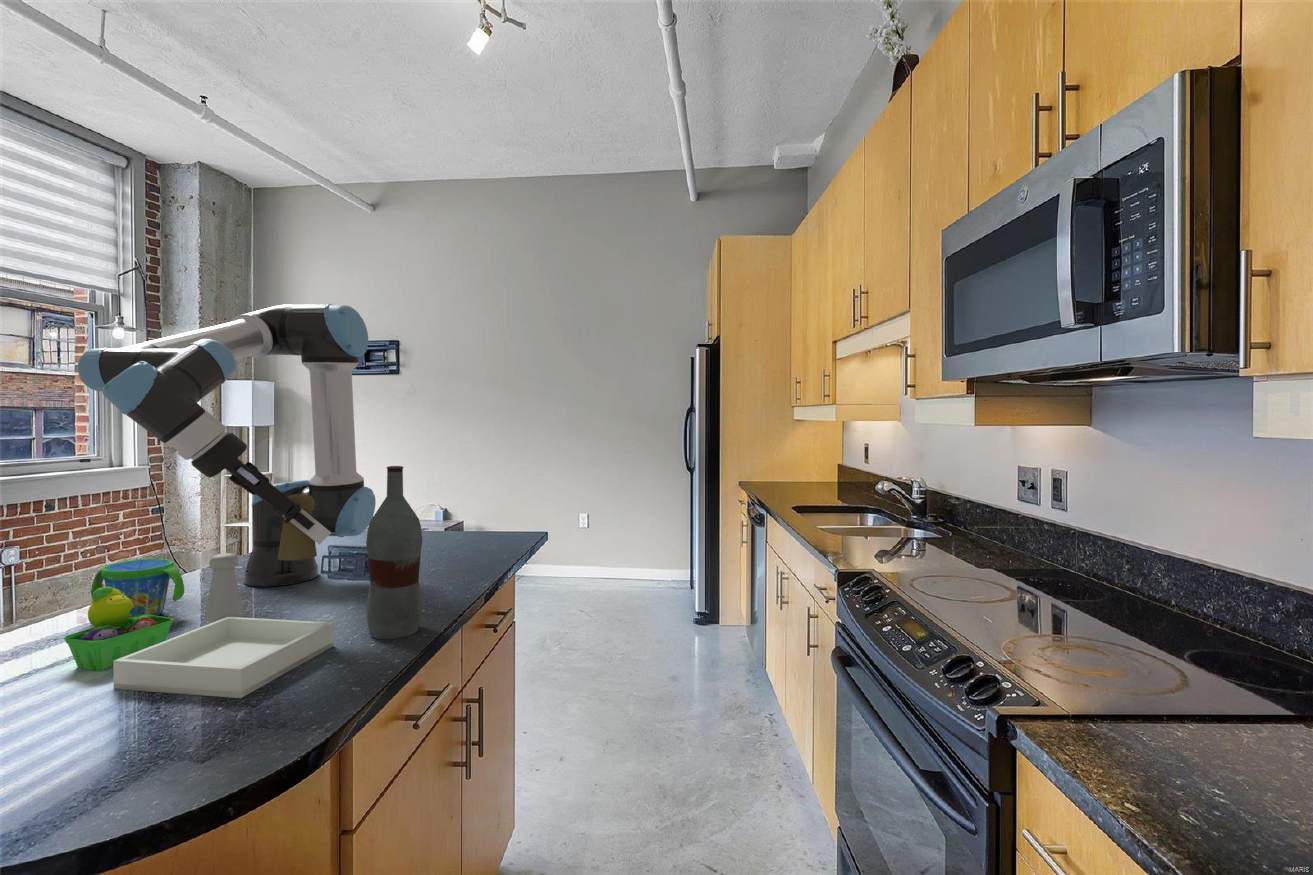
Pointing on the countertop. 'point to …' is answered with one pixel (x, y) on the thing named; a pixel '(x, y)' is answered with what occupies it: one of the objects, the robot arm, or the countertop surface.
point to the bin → (224, 657)
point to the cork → (297, 534)
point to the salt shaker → (223, 589)
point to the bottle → (394, 564)
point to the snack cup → (142, 583)
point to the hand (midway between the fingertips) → (321, 535)
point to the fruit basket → (114, 631)
